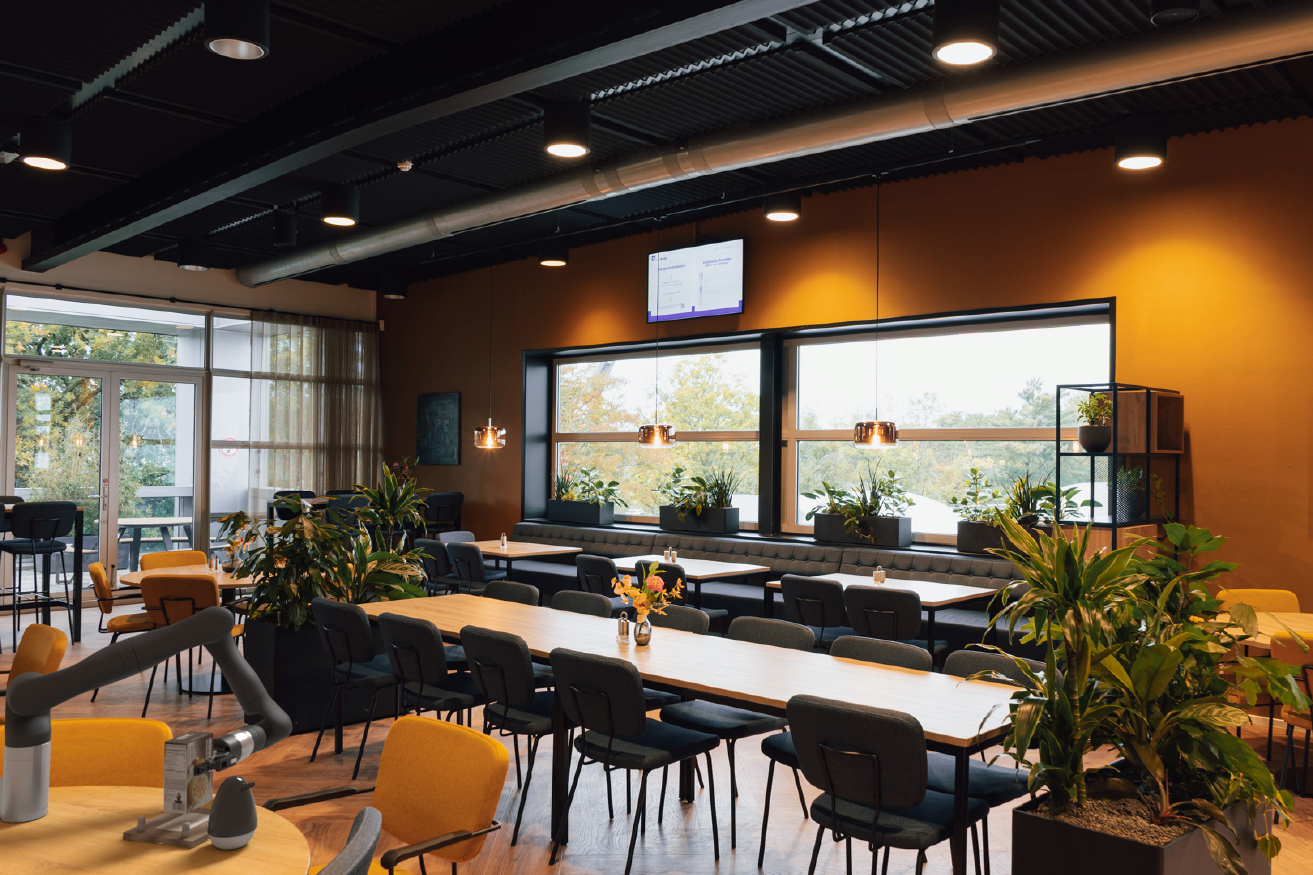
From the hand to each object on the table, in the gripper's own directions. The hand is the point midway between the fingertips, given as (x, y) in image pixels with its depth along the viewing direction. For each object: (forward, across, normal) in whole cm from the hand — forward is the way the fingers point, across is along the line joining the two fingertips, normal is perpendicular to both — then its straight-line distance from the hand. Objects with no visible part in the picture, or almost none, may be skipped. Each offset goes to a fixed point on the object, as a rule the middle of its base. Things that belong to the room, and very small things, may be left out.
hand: (182, 769), depth 221 cm
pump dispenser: (+3, +16, +14) cm, 22 cm away
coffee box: (-2, 0, +9) cm, 9 cm away
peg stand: (-2, 0, +14) cm, 14 cm away
